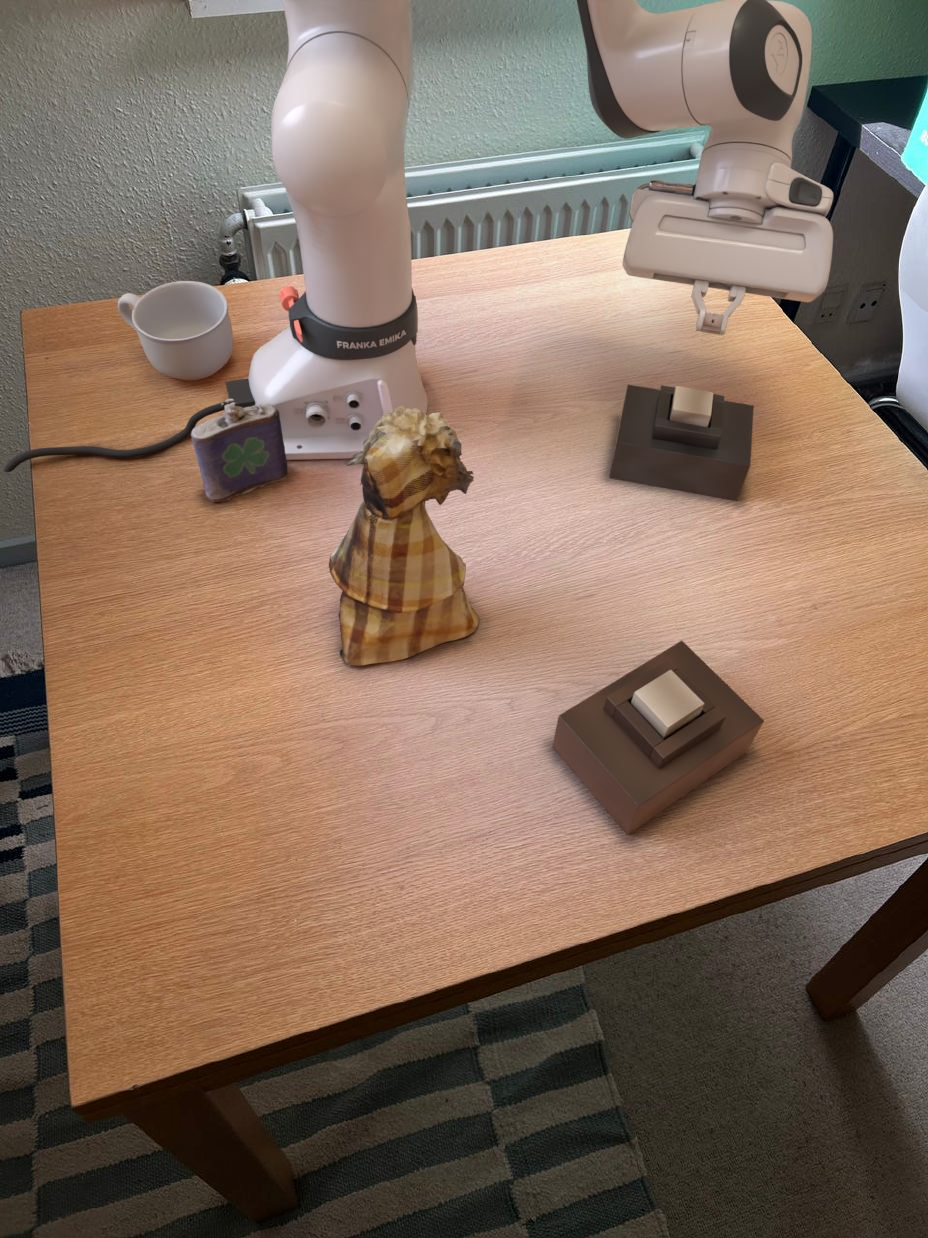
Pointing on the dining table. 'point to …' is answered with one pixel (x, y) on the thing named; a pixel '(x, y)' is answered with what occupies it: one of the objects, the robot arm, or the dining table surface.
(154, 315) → the teacup
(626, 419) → the stepped block
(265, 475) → the flask
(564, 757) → the push button box
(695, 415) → the key far
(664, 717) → the key near
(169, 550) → the dining table surface
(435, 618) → the plush toy
